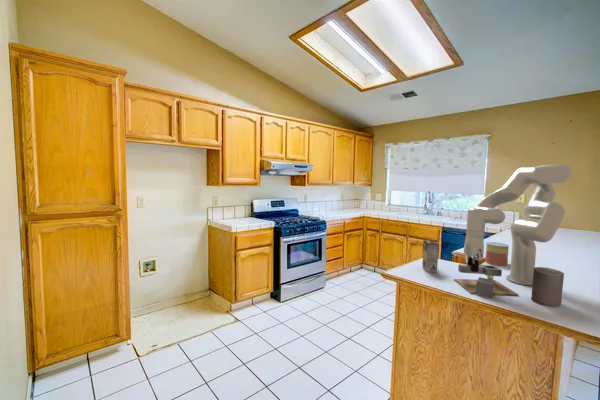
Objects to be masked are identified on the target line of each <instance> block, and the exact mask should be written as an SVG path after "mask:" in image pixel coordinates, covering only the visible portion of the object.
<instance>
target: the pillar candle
mask: <svg viewBox="0 0 600 400" xmlns="http://www.w3.org/2000/svg"><path fill="white" fill-rule="evenodd" d="M564 276H565V273H564V272H563V271H561V270H558V269H555V268H551V267H544V266H543V267H542V266H537V267H536V266H535V268H534V272H533V283H532V287H531V298H530V300H531V301H533V302H534V303H536V304H538V305H540V306H545V307H549V308H561V306H562V302H563V301H562V299H563V289H564V278H565V277H564Z"/></svg>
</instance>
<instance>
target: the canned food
mask: <svg viewBox="0 0 600 400" xmlns="http://www.w3.org/2000/svg"><path fill="white" fill-rule="evenodd" d="M485 245H486V248H485V261H484V262H485V264H486V265H492V266H495V267H507V266H508V264H509V263H508V262H509V247H510V245H509V244H507V243H502V242H497V241H496V242H493V241H488V242H486V244H485Z"/></svg>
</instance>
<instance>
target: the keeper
mask: <svg viewBox="0 0 600 400" xmlns="http://www.w3.org/2000/svg"><path fill="white" fill-rule="evenodd" d="M476 280H477V284H476V294H475V295H477V296H482V297H486V298H490V299H492V298H493V296H494V295H493V285H494V283H495V279H493V280H491V279H487V278H485V277H478V279H476Z"/></svg>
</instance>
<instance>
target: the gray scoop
mask: <svg viewBox="0 0 600 400" xmlns="http://www.w3.org/2000/svg"><path fill="white" fill-rule="evenodd" d="M458 272H460V273H461V274H478V275H485V276H493V277H502V273H503V270H502V269H501V268H499V267H498V266H494V265H490V264H479V271H478V272H472V271H471V265H467V264H458Z"/></svg>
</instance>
